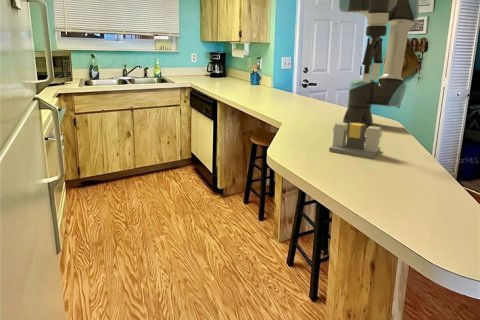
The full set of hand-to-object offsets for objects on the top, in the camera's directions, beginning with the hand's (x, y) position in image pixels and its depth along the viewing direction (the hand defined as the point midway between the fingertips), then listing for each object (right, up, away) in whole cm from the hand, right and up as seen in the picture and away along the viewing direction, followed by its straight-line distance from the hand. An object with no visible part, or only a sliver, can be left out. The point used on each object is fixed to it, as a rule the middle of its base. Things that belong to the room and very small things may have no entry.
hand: (370, 80), depth 149 cm
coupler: (-7, -23, -4) cm, 24 cm away
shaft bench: (-7, -29, -2) cm, 30 cm away
